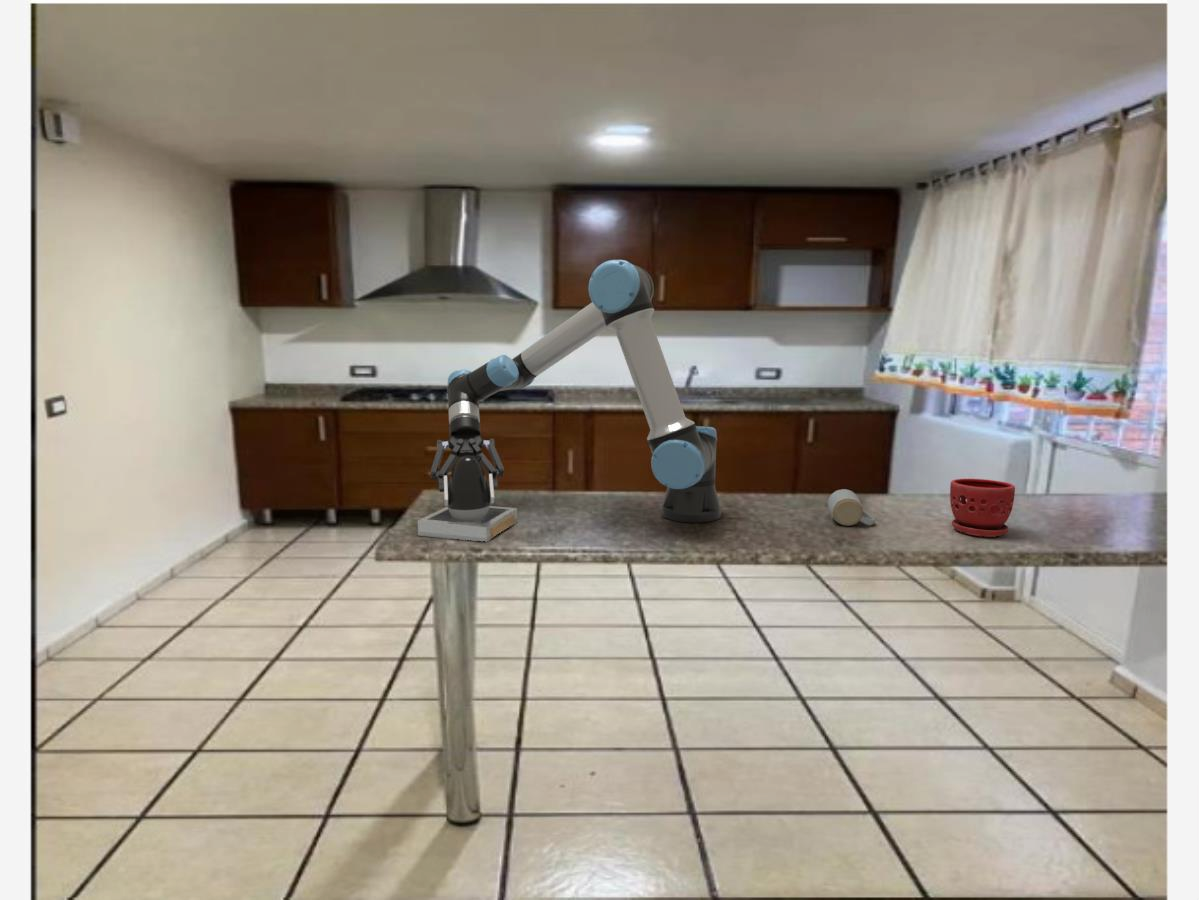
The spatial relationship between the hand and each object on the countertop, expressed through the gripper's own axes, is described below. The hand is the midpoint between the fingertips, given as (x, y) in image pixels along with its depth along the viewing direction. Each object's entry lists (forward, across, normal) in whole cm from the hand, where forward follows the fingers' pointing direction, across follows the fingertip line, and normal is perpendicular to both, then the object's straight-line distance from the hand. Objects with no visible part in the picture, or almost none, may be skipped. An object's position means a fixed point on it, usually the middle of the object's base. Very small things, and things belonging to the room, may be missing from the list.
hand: (469, 501), depth 152 cm
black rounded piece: (+1, 0, -6) cm, 6 cm away
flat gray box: (+3, 0, -7) cm, 8 cm away
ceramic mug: (+14, -92, +3) cm, 93 cm away
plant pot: (+23, -116, +12) cm, 119 cm away
